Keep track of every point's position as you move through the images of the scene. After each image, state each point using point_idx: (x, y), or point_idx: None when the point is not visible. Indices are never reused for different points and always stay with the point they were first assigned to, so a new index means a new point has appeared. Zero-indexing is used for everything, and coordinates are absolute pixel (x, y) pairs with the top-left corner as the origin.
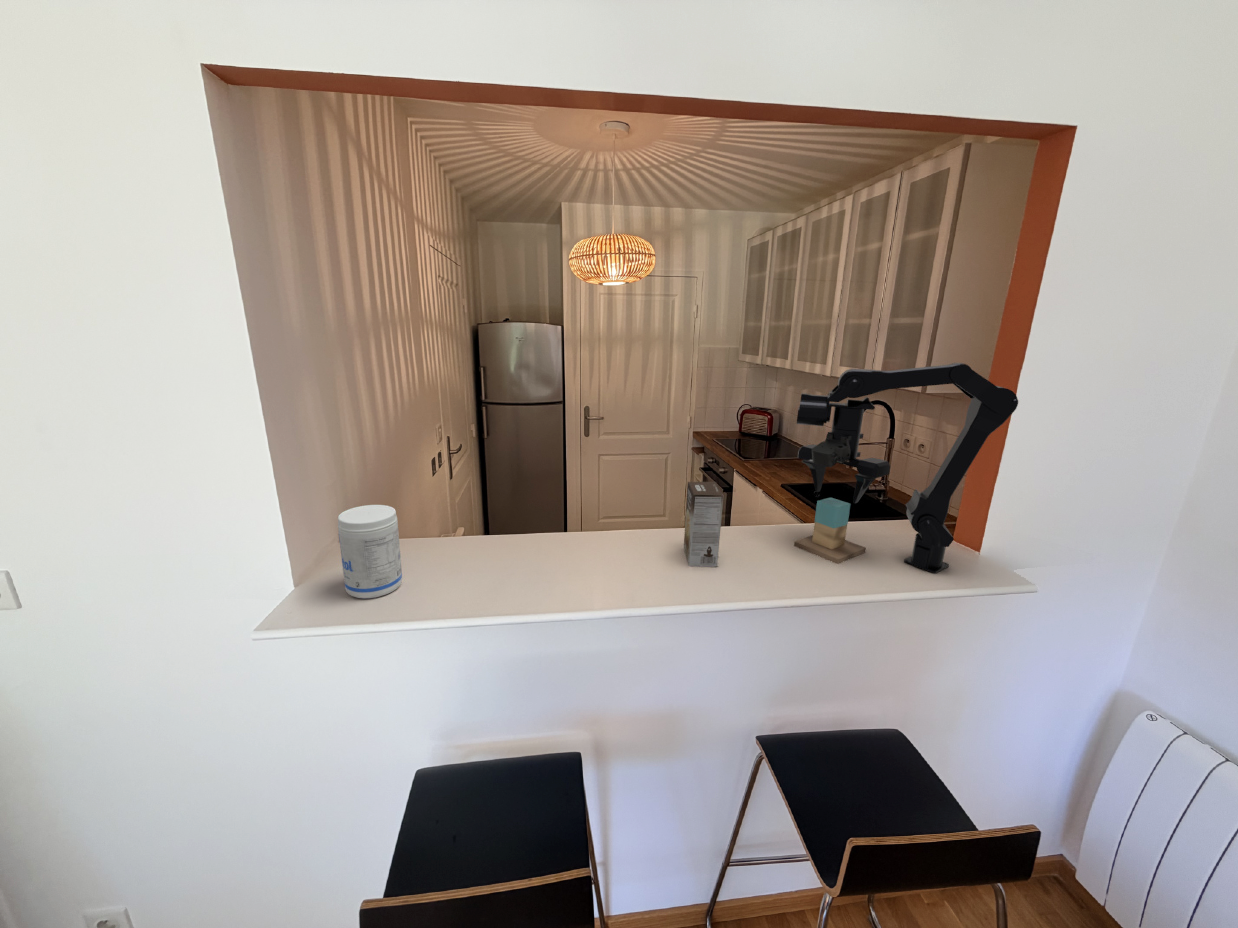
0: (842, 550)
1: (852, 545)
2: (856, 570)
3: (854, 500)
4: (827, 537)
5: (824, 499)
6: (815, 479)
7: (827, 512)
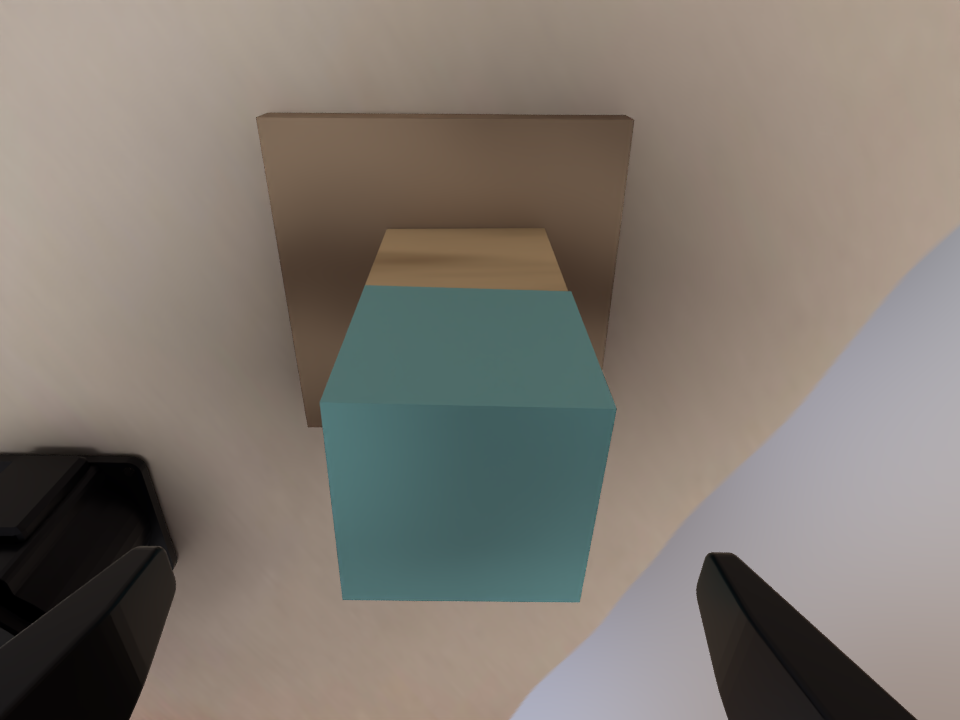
0: (345, 279)
1: None
2: (144, 133)
3: (121, 570)
4: (428, 255)
5: (586, 511)
6: (848, 710)
7: (448, 349)
